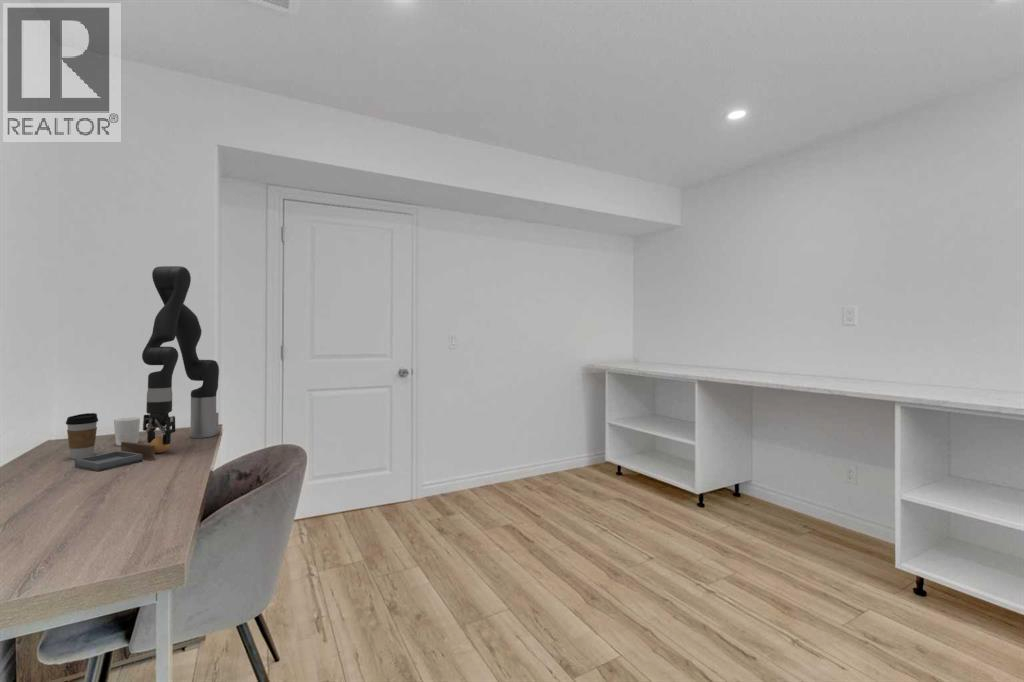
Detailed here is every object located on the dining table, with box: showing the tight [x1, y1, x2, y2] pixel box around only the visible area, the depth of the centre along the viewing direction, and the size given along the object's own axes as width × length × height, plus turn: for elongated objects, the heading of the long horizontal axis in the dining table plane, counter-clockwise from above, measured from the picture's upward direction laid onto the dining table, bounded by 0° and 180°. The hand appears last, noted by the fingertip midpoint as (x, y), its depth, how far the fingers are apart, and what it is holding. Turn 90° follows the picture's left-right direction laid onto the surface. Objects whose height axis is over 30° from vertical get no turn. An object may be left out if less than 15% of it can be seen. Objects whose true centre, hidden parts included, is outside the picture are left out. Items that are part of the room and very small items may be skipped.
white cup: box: [113, 416, 141, 447], centre depth 178 cm, size 8×8×10 cm
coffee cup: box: [65, 412, 99, 460], centre depth 159 cm, size 8×8×15 cm
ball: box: [149, 436, 171, 454], centre depth 166 cm, size 6×6×6 cm
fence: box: [120, 441, 156, 461], centre depth 159 cm, size 1×16×5 cm, turn 71°
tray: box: [74, 450, 143, 472], centre depth 151 cm, size 13×13×2 cm
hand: (158, 443), depth 165 cm, fingers open, 8 cm apart
